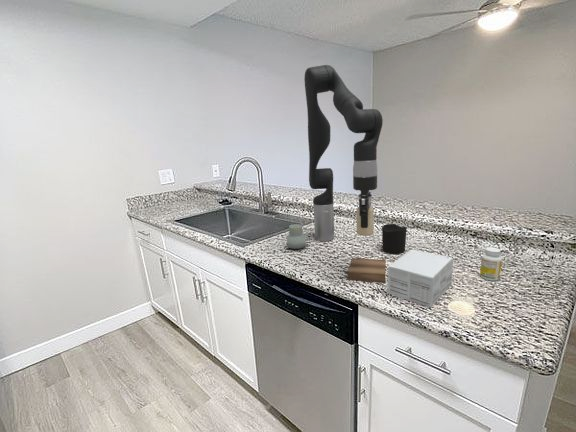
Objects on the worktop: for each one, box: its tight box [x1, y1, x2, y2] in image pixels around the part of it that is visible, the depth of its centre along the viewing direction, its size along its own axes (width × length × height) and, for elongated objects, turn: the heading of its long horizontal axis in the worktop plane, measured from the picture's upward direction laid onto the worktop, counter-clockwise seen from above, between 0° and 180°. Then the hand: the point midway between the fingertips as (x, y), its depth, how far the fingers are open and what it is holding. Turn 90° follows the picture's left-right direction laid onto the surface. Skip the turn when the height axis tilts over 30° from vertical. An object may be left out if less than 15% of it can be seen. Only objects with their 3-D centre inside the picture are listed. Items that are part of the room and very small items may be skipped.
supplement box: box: [387, 249, 454, 308], centre depth 93 cm, size 17×13×9 cm
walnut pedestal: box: [347, 257, 387, 284], centre depth 106 cm, size 12×12×3 cm
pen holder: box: [381, 223, 408, 255], centre depth 124 cm, size 9×9×10 cm
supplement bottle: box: [479, 246, 503, 282], centre depth 97 cm, size 5×5×10 cm
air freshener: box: [286, 223, 307, 250], centre depth 135 cm, size 11×8×10 cm
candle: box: [356, 204, 375, 237], centre depth 101 cm, size 6×6×10 cm
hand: (365, 224), depth 102 cm, fingers closed on candle, 5 cm apart
